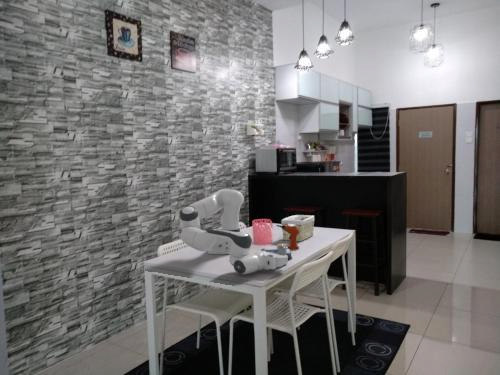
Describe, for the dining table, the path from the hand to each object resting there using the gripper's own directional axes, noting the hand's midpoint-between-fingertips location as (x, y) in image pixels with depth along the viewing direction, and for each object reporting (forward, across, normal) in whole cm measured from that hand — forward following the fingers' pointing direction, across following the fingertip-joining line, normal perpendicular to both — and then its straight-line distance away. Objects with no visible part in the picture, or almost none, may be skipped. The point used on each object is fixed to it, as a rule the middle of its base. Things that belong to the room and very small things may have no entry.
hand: (280, 254), depth 208 cm
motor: (+1, 0, -6) cm, 6 cm away
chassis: (+10, -14, -6) cm, 18 cm away
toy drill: (+31, -23, -6) cm, 40 cm away
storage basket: (+57, -36, -6) cm, 68 cm away
